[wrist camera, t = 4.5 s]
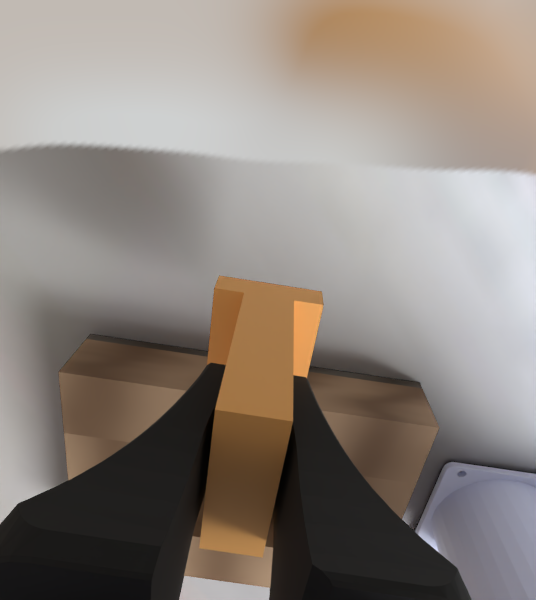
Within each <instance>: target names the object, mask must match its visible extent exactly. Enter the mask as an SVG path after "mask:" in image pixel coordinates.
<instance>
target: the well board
mask: <svg viewBox="0 0 536 600" xmlns="http://www.w3.org/2000/svg"><path fill="white" fill-rule="evenodd" d="M207 359H208V351H202V350H195V349H188V348H181V347H174V346H168V345H161V344H154V343H147V342H141V341H134V340H127V339H120V338H113V337H107V336H100V335H93V334H90V335H89V336H88V338H87V339H86V340H85V341H84V342H83V344H82V345H81V346H80V347H79V348H78V349H77V351H76V352H75V353H74V354H73V355H72V357H71V358H70V359H69V360H68V361H67V362H66V364H65V365H64V366H63V367H62V368H61V370H60V371H59V372H58V373H59V384H60V395H61V406H62V417H63V428H64V439H65V450H66V461H67V472H68V480H70V479H72V478H74V477H76V476H77V475H79V474H81V473H83V472H84V471H86V470H88V469H90V468H91V467H93V466H95V465H97V464H98V463H100V462H102V461H103V460H105V459H106V458H108V457H110V456H111V455H113V454H114V453H115V452H117V451H118V450H120V449H121V448H123V447H124V446H125V445H127V444H128V443H130V442H131V441H132V440H134V439H135V438H136V437H138V436H139V435H140V434H141V433H143V432H144V431H145V430H146V429H148V428H149V427H150V426H151V425H152V424H153V423H155V422H156V421H157V420H158V419H159V418H160V417H161V416H162V415H163V414H164V413H165V412H166V411H168V410H169V409H170V408H171V407H172V406H173V405H174V404H175V403H176V402H177V401H178V400H179V399H180V397H181V396H182V395H183V394H184V393H185V392H186V391H187V390H188V389H189V388H190V387H191V385H192V384H193V383H194V382H195V381H196V379H197V378H198V377H199V376H200V374H201V373H202V372H203V370H204V369H205V367H206V366H207ZM307 379H308V381H309V383H310V386H311V388H312V391H313V393H314V395H315V398H316V400H317V402H318V404H319V406H320V408H321V410H322V412H323V414H324V416H325V418H326V420H327V422H328V424H329V425H330V427H331V429H332V431H333V433H334V434H335V436H336V438H337V439H338V441H339V443H340V444H341V446H342V447H343V449H344V450H345V452H346V454H347V455H348V457H349V458H350V459H351V461H352V462H353V464H354V465H355V466H356V468H357V469H358V470H359V472H360V473H361V474H362V476H363V477H364V478H365V480H366V481H367V482H368V483H369V485H370V486H371V487H372V488H373V489H374V490H375V492H376V493H377V494H378V495H379V496H380V497H381V498H382V499H383V500H384V501H385V502H386V504H387V505H388V506H389V507H390V508H391V509H392V510H393V511H394V512H395V513H396V514H397V515H398V516H399V517H400V518H401V519H402V517H403V515H404V512H405V510H406V508H407V505H408V503H409V500H410V498H411V495H412V493H413V491H414V488H415V486H416V483H417V481H418V478H419V476H420V474H421V471H422V469H423V466H424V464H425V461H426V459H427V456H428V454H429V452H430V449H431V447H432V444H433V442H434V439H435V437H436V435H437V432H438V430H439V426H438V424H437V421H436V419H435V417H434V414H433V412H432V410H431V408H430V405H429V403H428V401H427V398H426V396H425V394H424V392H423V389H422V387H421V385H420V383H418V382H412V381H405V380H398V379H391V378H385V377H378V376H371V375H364V374H357V373H351V372H344V371H337V370H330V369H324V368H317V367H310V366H309V371H308V375H307ZM205 493H206V492H205ZM204 501H205V495H204V498H203V502H202V505H201V508H200V511H199V514H198V518H197V521H196V525H195V529H194V532H193V536H192V541H191V545H190V550H189V555H188V559H187V564H186V569H185V573H184V576H191V577H198V578H205V579H212V580H219V581H226V582H233V583H240V584H247V585H254V586H262V587H269V588H270V585H271V570H272V556H273V513H272V518H271V522H270V527H269V531H268V536H267V540H266V545H265V549H264V554H263V558H262V557H255V556H248V555H242V554H235V553H228V552H221V551H214V550H208V549H201V548H199V545H200V537H201V528H202V519H203V510H204Z"/></svg>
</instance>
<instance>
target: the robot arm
mask: <svg viewBox="0 0 536 600" xmlns="http://www.w3.org/2000/svg"><path fill="white" fill-rule="evenodd" d="M225 367H226V365H224V364H217V363H209V364H208V365H207V366H206V367H205V369H204V370H203V372H202V373H201V374H200V376H199V377H198V378H197V379H196V381H195V382H194V383H193V384H192V385H191V387H190V388H189V389H188V390H187V391H186V392H185V393H184V394H183V395H182V396H181V397H180V399H179V400H178V401H177V402H176V403H175V404H174V405H173V406H172V407H171V408H170V409H169V410H168V411H166V412H165V413H164V414H163V415H162V416H161V417H160V418H159V419H158V420H157V421H156V422H155V423H153V424H152V425H151V426H150V427H149V428H148V429H146V430H145V431H144V432H143V433H141V434H140V435H139V436H138V437H136V438H135V439H134V440H132V441H131V442H130V443H128V444H127V445H125V446H124V447H123V448H121V449H120V450H118V451H117V452H115V453H114V454H113V455H111V456H110V457H108V458H106V459H105V460H103V461H102V462H100V463H98V464H97V465H95V466H93V467H91V468H90V469H88V470H86V471H84V472H83V473H81V474H79V475H77V476H76V477H74V478H72V479H70V480H68V481H66V482H64V483H62V484H60V485H58V486H56V487H54V488H52V489H50V490H47V491H45V492H43V493H41V494H39V495H36V496H34V497H32V498H30V499H28V500H25V501H23V502H20V503H18V504H17V505H16V507H15V508H14V509H13V510H12V511H11V513H10V514H9V515H8V516H7V517H6V518H5V519H4V521H3V522H2V523H1V524H0V600H179V597H180V592H181V588H182V583H183V578H184V573H185V569H186V564H187V559H188V555H189V550H190V545H191V541H192V536H193V532H194V529H195V525H196V521H197V518H198V514H199V511H200V508H201V505H202V502H203V498H204V495H205V492H206V484H207V475H208V466H209V457H210V449H211V440H212V431H213V422H214V414H215V407H216V403H217V399H218V395H219V391H220V387H221V383H222V379H223V375H224V371H225ZM460 471H461V472H460ZM269 600H536V474H533V473H526V472H519V471H512V470H505V469H498V468H491V467H485V466H478V465H471V464H464V463H457V462H449V463H447V464H445V465H444V467H443V469H442V471H441V474H440V476H439V478H438V480H437V483H436V485H435V487H434V489H433V492H432V494H431V496H430V499H429V501H428V503H427V505H426V508H425V510H424V512H423V514H422V517H421V519H420V521H419V524H418V526H417V528H416V530H415V532H414V531H413V530H412V529H411V528H410V527H409V526H408V525H407V524H406V523H405V522H404V521H403V520H402V519H401V518H400V517H399V516H398V515H397V514H396V513H395V512H394V511H393V510H392V509H391V508H390V507H389V506H388V505H387V504H386V502H385V501H384V500H383V499H382V498H381V497H380V496H379V495H378V494H377V493H376V492H375V490H374V489H373V488H372V487H371V486H370V485H369V483H368V482H367V481H366V480H365V478H364V477H363V476H362V474H361V473H360V472H359V470H358V469H357V468H356V466H355V465H354V464H353V462H352V461H351V459H350V458H349V457H348V455H347V454H346V452H345V450H344V449H343V447H342V446H341V444H340V443H339V441H338V439H337V438H336V436H335V434H334V433H333V431H332V429H331V427H330V425H329V424H328V422H327V420H326V418H325V416H324V414H323V412H322V410H321V408H320V406H319V404H318V402H317V400H316V398H315V395H314V393H313V391H312V388H311V386H310V383H309V381H308V379H307V378H306V377H302V376H295V375H293V424H292V428H291V433H290V437H289V442H288V446H287V451H286V455H285V460H284V464H283V469H282V473H281V478H280V482H279V487H278V491H277V495H276V500H275V504H274V509H273V556H272V570H271V585H270V598H269Z"/></svg>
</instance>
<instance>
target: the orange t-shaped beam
mask: <svg viewBox="0 0 536 600" xmlns="http://www.w3.org/2000/svg"><path fill="white" fill-rule="evenodd" d="M322 310H323V297H322V292H321V291H315V290H309V289H302V288H296V287H289V286H283V285H276V284H270V283H264V282H257V281H251V280H244V279H238V278H231V277H225V276H219V278H218V280H217V283H216V285H215V288H214V297H213V308H212V318H211V328H210V339H209V349H208V359H207V365H208V364H209V363H217V364H224V365H226V367H225V371H224V375H223V379H222V383H221V387H220V391H219V395H218V399H217V403H216V407H215V414H214V422H213V431H212V440H211V449H210V457H209V466H208V475H207V484H206V493H205V501H204V510H203V519H202V528H201V537H200V545H199V548H201V549H208V550H214V551H221V552H228V553H235V554H242V555H248V556H255V557H262V558H263V554H264V549H265V545H266V540H267V536H268V531H269V527H270V522H271V518H272V513H273V509H274V504H275V500H276V495H277V491H278V487H279V482H280V478H281V473H282V469H283V464H284V460H285V455H286V451H287V446H288V442H289V437H290V433H291V428H292V424H293V375H295V376H302V377H306V378H307V375H308V371H309V366H310V362H311V358H312V353H313V349H314V345H315V340H316V336H317V331H318V327H319V323H320V318H321V314H322Z"/></svg>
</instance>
